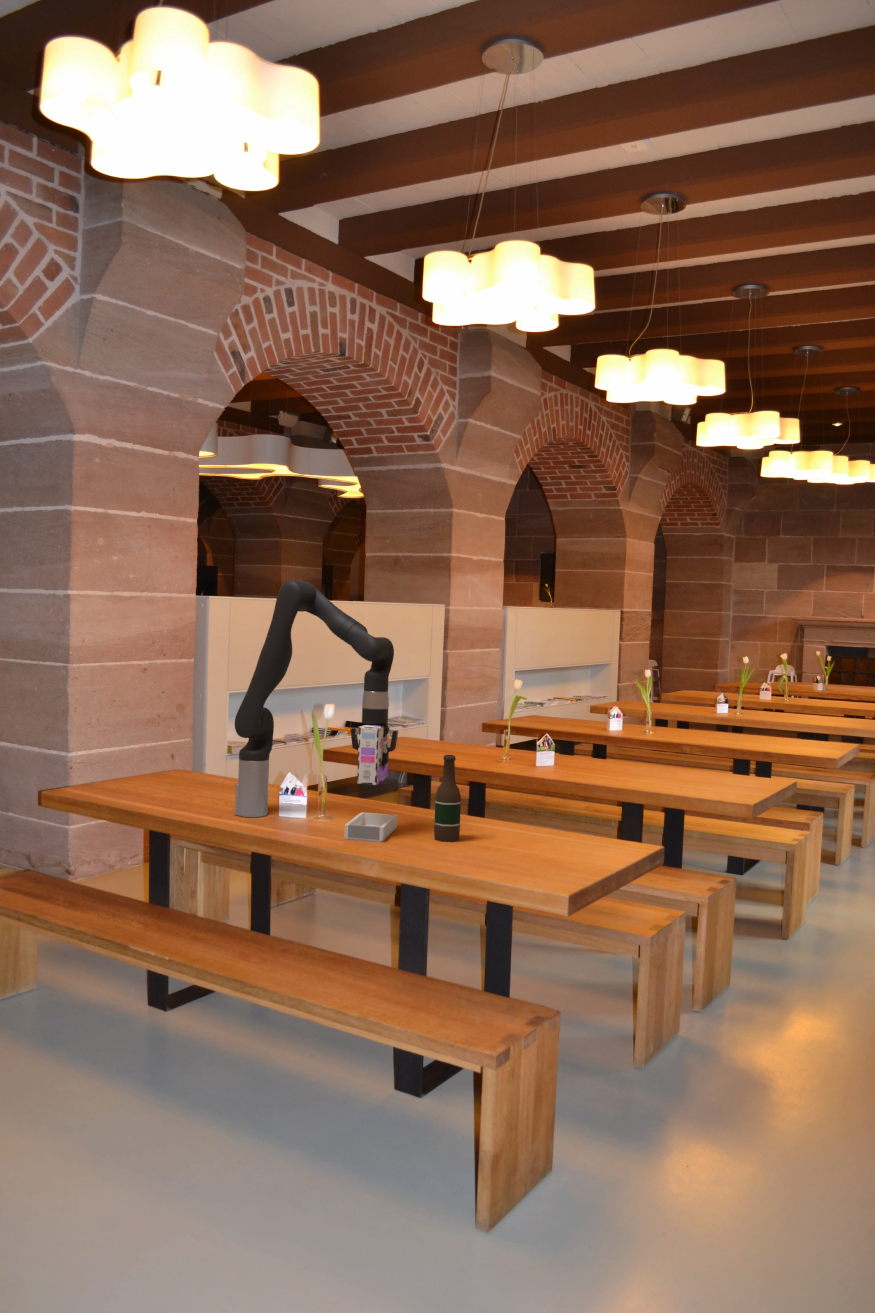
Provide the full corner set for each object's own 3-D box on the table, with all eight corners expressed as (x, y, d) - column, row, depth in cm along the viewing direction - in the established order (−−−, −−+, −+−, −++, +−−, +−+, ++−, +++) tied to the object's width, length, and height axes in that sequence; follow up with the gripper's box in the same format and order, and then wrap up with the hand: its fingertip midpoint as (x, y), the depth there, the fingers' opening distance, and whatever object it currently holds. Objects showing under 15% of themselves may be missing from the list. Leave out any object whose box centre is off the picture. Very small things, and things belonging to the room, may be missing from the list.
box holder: (344, 839, 277) (344, 825, 277) (360, 825, 296) (361, 812, 296) (382, 842, 275) (383, 827, 275) (396, 828, 294) (397, 814, 294)
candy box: (376, 785, 278) (378, 727, 277) (356, 784, 279) (358, 726, 278) (388, 778, 291) (390, 722, 291) (369, 777, 293) (371, 721, 292)
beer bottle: (428, 837, 284) (431, 753, 283) (453, 835, 287) (456, 753, 286) (439, 843, 277) (442, 757, 276) (464, 841, 280) (467, 757, 279)
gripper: (347, 706, 282) (345, 765, 282) (397, 709, 279) (395, 768, 280) (354, 704, 289) (352, 761, 290) (402, 706, 287) (400, 764, 288)
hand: (373, 764), depth 285 cm, fingers closed on candy box, 6 cm apart
